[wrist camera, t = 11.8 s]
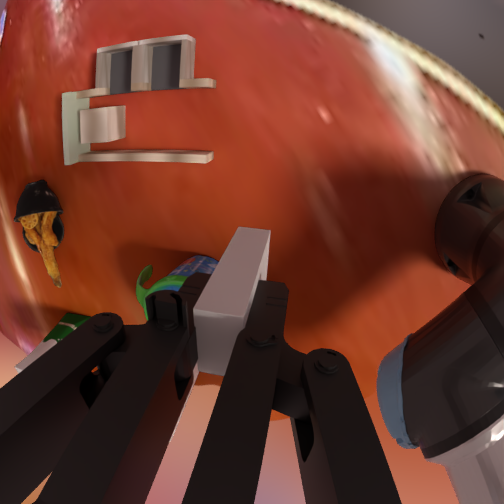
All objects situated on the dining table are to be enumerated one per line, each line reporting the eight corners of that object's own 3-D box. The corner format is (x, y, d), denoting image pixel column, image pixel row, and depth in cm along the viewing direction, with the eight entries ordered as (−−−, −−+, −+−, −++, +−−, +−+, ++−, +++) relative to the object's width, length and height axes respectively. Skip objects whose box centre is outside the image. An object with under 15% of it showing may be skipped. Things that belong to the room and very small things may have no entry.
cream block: (125, 105, 36) (106, 107, 32) (125, 137, 38) (107, 142, 34) (99, 108, 37) (80, 110, 33) (100, 138, 39) (81, 143, 35)
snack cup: (270, 272, 44) (259, 317, 35) (240, 324, 48) (225, 370, 39) (169, 222, 43) (134, 255, 34) (150, 279, 48) (119, 317, 39)
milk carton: (77, 341, 59) (27, 404, 42) (62, 307, 55) (3, 370, 38) (107, 348, 58) (58, 419, 40) (93, 312, 54) (33, 383, 36)
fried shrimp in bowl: (46, 171, 37) (62, 294, 39) (72, 181, 48) (86, 282, 50) (0, 185, 36) (15, 301, 38) (31, 192, 47) (44, 289, 48)
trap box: (218, 37, 31) (206, 29, 27) (213, 159, 38) (200, 166, 34) (85, 56, 34) (63, 54, 29) (85, 157, 40) (64, 165, 36)
